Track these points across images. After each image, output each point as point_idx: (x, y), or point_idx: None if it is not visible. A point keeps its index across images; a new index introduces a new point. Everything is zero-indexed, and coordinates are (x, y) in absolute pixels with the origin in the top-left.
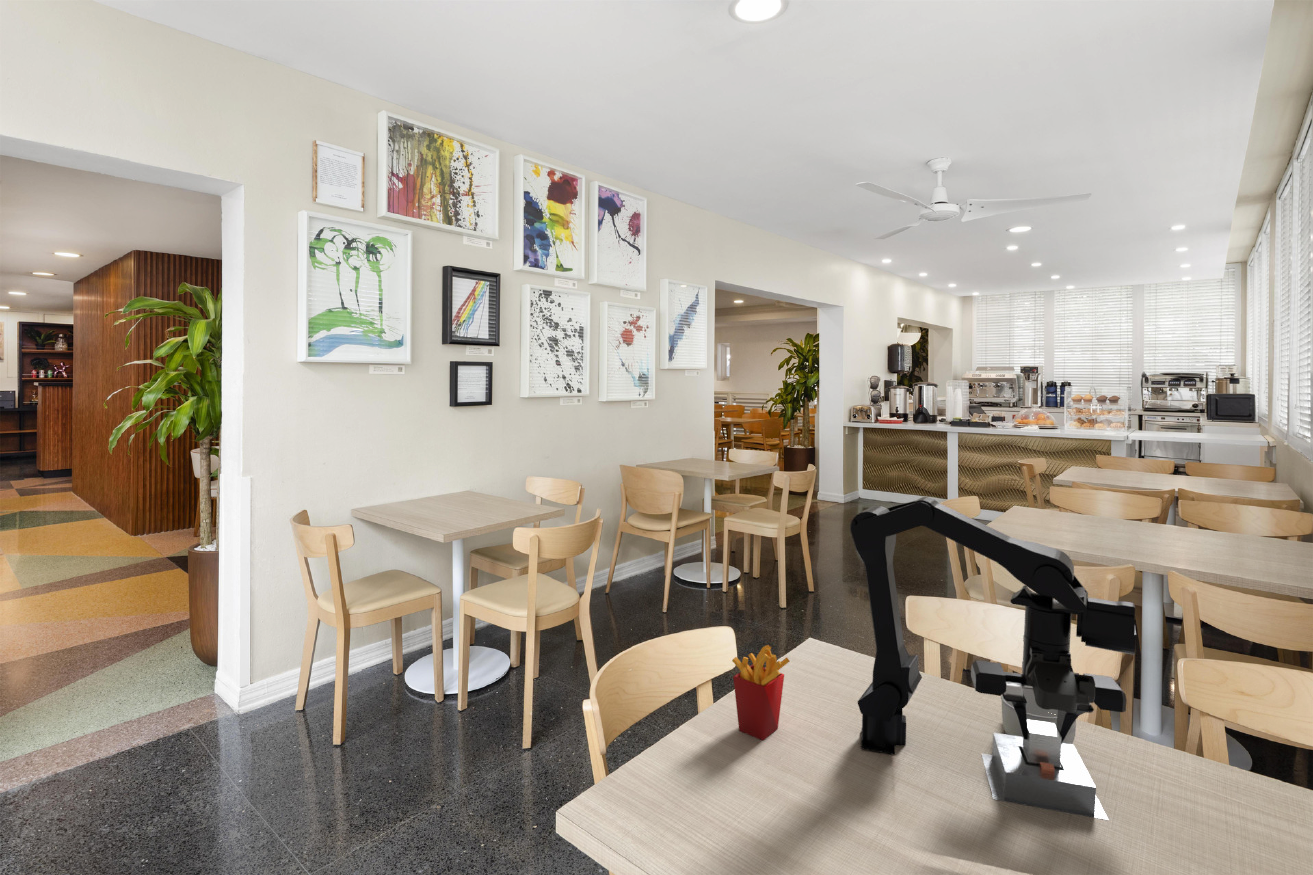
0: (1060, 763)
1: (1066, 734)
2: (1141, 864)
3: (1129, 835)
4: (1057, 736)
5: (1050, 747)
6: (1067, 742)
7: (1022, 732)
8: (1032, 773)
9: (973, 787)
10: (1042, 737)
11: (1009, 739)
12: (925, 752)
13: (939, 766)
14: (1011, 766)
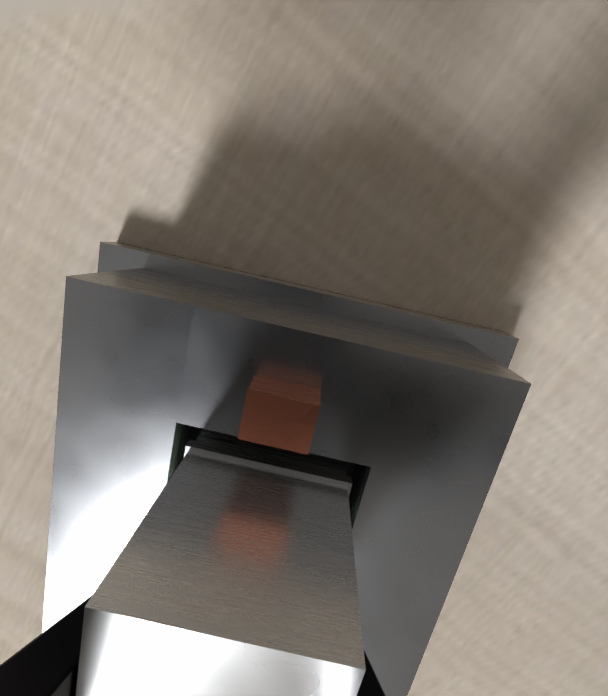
0: None
1: (22, 650)
2: (84, 12)
3: (59, 198)
4: (119, 616)
5: (211, 536)
6: None
7: (379, 684)
8: (374, 382)
9: (523, 438)
10: (257, 613)
11: None
12: (598, 627)
13: (590, 552)
14: (462, 441)
